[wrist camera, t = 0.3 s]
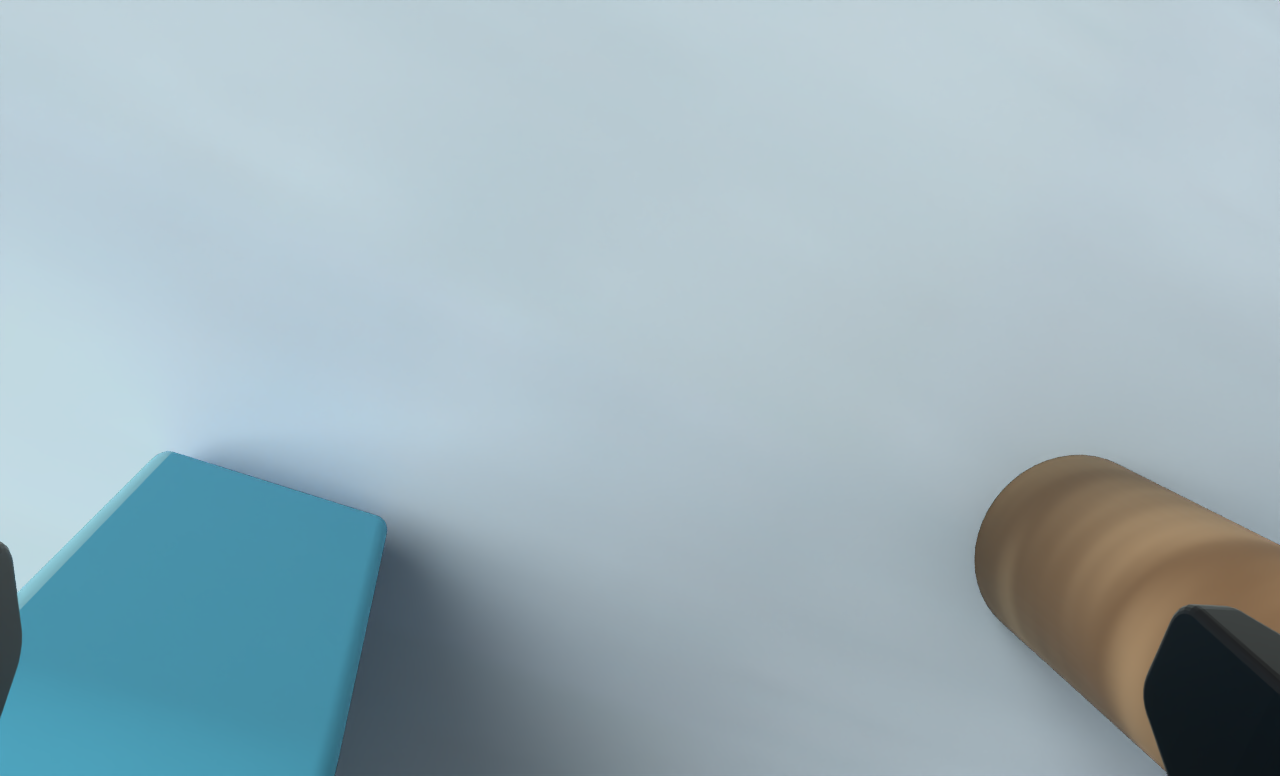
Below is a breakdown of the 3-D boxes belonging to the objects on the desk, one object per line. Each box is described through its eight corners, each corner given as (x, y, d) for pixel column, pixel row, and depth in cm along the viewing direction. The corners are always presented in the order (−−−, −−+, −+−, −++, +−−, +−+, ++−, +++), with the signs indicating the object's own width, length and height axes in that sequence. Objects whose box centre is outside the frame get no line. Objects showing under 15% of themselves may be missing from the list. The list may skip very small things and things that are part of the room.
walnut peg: (1064, 678, 28) (1500, 1074, 16) (935, 562, 26) (1298, 893, 15) (1197, 538, 27) (1740, 834, 16) (1072, 414, 26) (1553, 634, 15)
